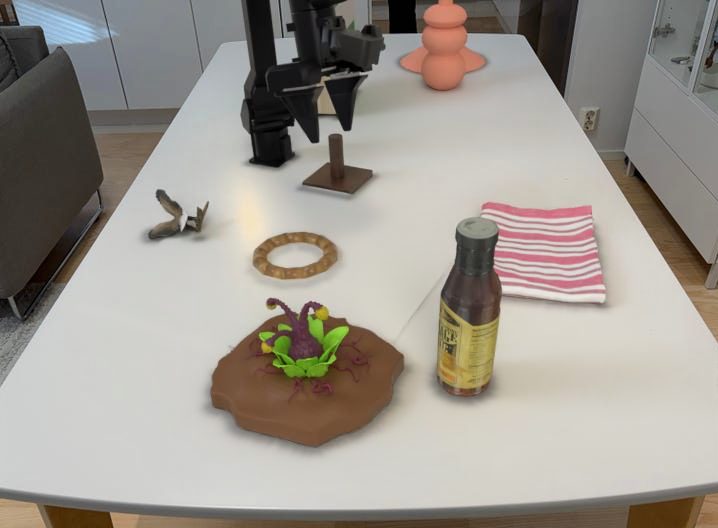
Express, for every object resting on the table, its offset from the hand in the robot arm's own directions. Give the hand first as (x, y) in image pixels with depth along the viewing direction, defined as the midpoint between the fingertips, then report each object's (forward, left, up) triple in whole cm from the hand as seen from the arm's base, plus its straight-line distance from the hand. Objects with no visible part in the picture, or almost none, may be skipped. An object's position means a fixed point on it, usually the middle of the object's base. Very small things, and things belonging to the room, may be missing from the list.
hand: (332, 136), depth 95 cm
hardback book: (-29, +52, -16) cm, 62 cm away
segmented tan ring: (-2, -9, -14) cm, 17 cm away
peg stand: (-9, +17, -15) cm, 25 cm away
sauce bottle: (+29, -24, -16) cm, 41 cm away
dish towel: (+29, +6, -16) cm, 33 cm away
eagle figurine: (-23, -9, -16) cm, 30 cm away
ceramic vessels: (-16, +83, -16) cm, 86 cm away
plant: (+13, -31, -16) cm, 37 cm away
